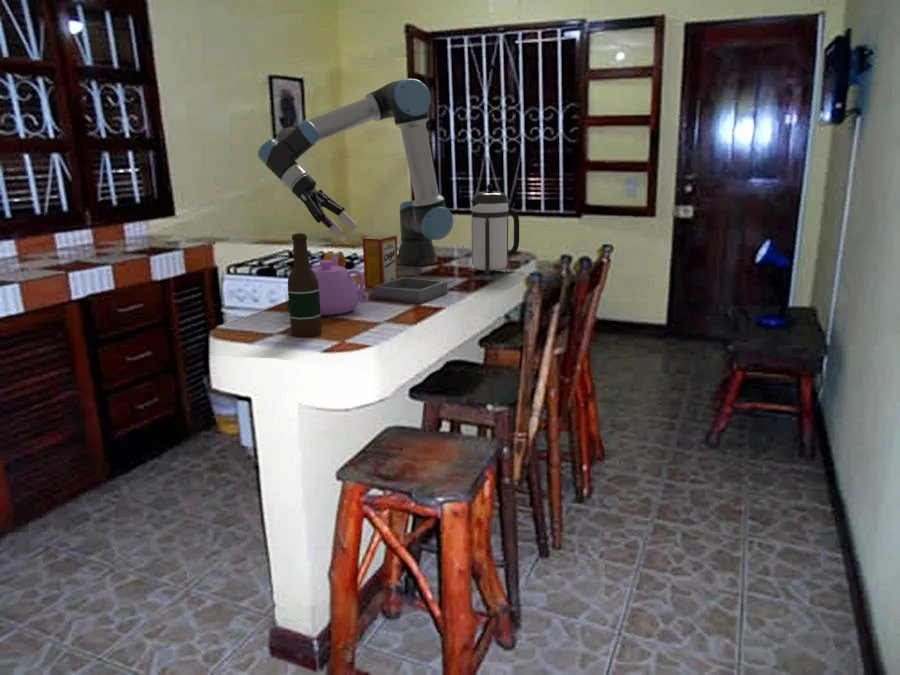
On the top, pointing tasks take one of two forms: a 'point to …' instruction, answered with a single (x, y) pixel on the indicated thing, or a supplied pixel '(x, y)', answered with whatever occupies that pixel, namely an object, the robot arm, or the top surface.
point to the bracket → (340, 260)
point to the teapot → (338, 287)
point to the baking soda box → (380, 259)
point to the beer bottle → (303, 292)
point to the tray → (410, 290)
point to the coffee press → (492, 230)
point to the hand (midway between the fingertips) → (347, 231)
